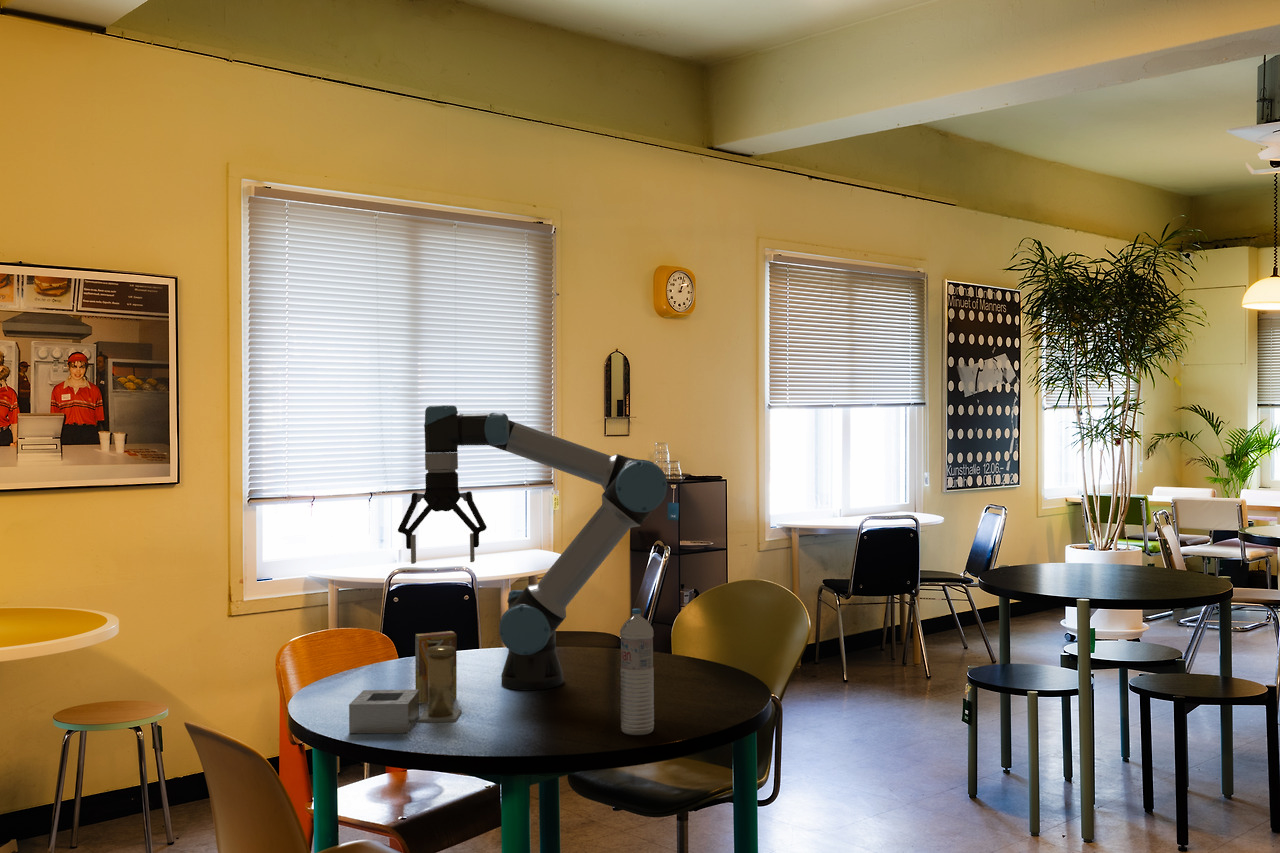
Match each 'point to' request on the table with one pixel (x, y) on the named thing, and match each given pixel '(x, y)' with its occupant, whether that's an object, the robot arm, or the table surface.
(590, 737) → the table surface
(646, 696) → the water bottle
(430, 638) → the candy box
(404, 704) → the housing
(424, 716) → the mat
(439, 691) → the gold metallic cylinder
